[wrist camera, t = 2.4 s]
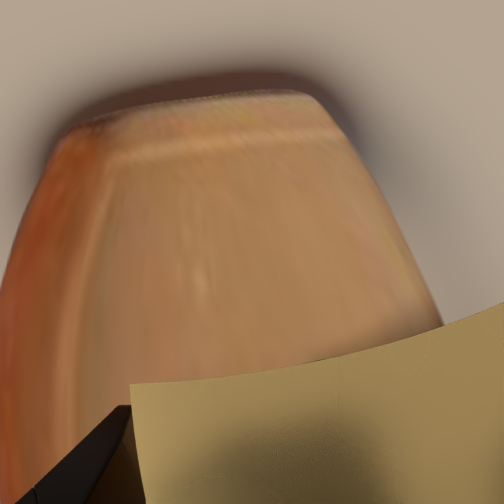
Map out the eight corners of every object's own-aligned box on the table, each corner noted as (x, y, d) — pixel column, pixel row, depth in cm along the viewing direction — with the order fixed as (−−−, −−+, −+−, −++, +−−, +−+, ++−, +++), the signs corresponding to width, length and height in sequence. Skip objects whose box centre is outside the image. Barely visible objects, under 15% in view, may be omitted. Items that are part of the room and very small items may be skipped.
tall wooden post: (337, 458, 10) (544, 471, 2) (217, 482, 9) (189, 628, 1) (322, 386, 12) (501, 278, 3) (204, 406, 11) (127, 347, 3)
